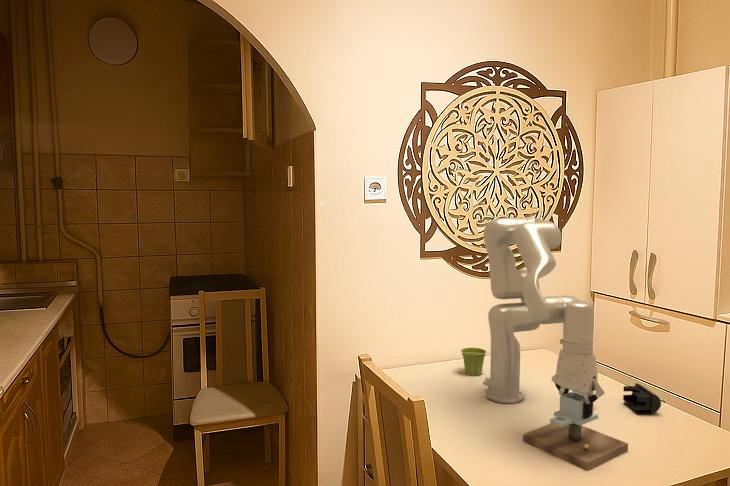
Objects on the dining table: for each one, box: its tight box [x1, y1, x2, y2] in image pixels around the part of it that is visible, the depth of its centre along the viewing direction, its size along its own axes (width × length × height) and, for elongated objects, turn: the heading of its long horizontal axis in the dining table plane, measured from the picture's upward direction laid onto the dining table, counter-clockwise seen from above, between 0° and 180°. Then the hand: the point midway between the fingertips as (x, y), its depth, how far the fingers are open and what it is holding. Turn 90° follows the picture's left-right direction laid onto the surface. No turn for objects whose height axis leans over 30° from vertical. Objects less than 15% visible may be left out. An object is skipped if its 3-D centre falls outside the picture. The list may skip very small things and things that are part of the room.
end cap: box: [622, 382, 662, 416], centre depth 176 cm, size 10×7×7 cm
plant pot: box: [460, 347, 487, 376], centre depth 211 cm, size 9×9×9 cm
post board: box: [522, 423, 629, 471], centre depth 152 cm, size 20×18×6 cm
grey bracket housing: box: [549, 390, 599, 427], centre depth 149 cm, size 13×8×6 cm, turn 125°
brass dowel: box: [584, 443, 589, 451], centre depth 145 cm, size 1×1×2 cm
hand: (576, 412), depth 151 cm, fingers closed on grey bracket housing, 6 cm apart
